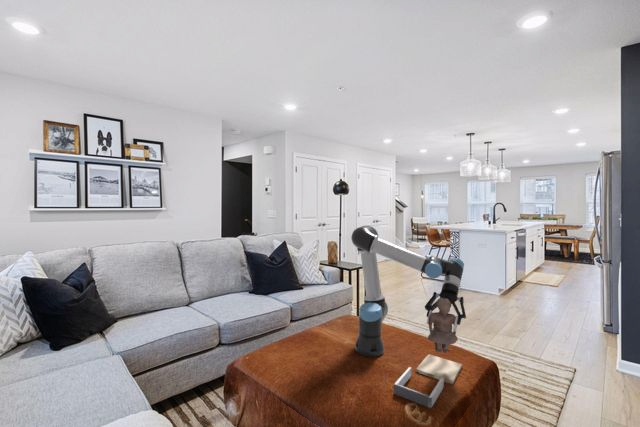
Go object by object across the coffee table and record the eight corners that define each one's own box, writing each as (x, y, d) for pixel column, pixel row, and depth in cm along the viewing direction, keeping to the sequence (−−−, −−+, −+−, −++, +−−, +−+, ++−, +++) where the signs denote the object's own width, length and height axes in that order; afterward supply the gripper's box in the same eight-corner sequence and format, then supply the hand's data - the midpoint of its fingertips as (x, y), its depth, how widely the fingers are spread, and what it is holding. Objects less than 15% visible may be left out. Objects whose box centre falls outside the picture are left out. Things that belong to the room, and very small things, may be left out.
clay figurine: (430, 355, 144) (431, 301, 143) (424, 345, 154) (425, 294, 153) (459, 356, 143) (461, 301, 142) (452, 346, 153) (453, 295, 152)
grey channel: (393, 393, 130) (394, 384, 130) (408, 375, 144) (409, 366, 144) (431, 408, 121) (431, 398, 121) (443, 387, 135) (443, 378, 135)
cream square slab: (416, 372, 147) (416, 368, 147) (428, 356, 161) (428, 354, 161) (452, 384, 137) (452, 381, 137) (462, 367, 152) (462, 364, 152)
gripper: (477, 295, 153) (469, 337, 141) (428, 286, 167) (417, 324, 155) (476, 286, 149) (467, 329, 137) (425, 278, 163) (414, 317, 151)
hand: (441, 327), depth 146 cm, fingers closed on clay figurine, 11 cm apart
